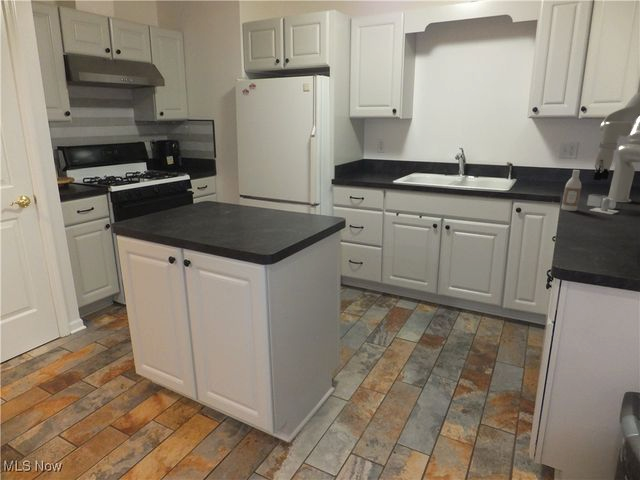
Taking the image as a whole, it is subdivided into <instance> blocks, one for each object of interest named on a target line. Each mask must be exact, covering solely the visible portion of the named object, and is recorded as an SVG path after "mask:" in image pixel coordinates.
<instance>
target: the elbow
mask: <svg viewBox="0 0 640 480" xmlns="http://www.w3.org/2000/svg"><path fill="white" fill-rule="evenodd" d="M606 197H607V195H602V194H597V193H595V194H594V193H592V194H588V198H587V202H586V206H587V207H588V206H590V207H594V208H601V206H602V201H603V198H606ZM617 203H618V202H617V201H613V200H610V202H609V207H608V209H609V210H615V209H616V205H617Z"/></svg>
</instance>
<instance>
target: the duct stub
mask: <svg viewBox="0 0 640 480" xmlns="http://www.w3.org/2000/svg"><path fill="white" fill-rule="evenodd" d="M609 202H610V199H608V198H603V201H602V206H601V207H594V208H591V209H589V212H595V213H601V214H607V215H613V214H616V213H619V212H620V211H619V210H615V209H609V208H608V207H609Z"/></svg>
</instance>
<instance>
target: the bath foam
mask: <svg viewBox="0 0 640 480" xmlns="http://www.w3.org/2000/svg"><path fill="white" fill-rule="evenodd" d="M580 173H581V171H580V170H579V169H573V170H572V174H571V177H570V178H569V179H568V181H567V182H566V184H565V186H564V192H563V199H562V204H561V210H563V211H567V212H568V211H569V212H576V211H577V210H578V206H579V200H580V195H581V190H582V182H581V180H580Z"/></svg>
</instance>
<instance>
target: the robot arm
mask: <svg viewBox="0 0 640 480" xmlns="http://www.w3.org/2000/svg"><path fill="white" fill-rule="evenodd" d="M630 121H633V124H632V123H631V122H630ZM598 132H599V134H600V135H601V138H600V142H599V146H598V147H599V148H598V149H599V150H598V153H597V155H596V159H595V163H594V169H595V170H594V176H593V180H594V181H601V180H608V179H609V175H610V169H611V167H612V163H613V160H614V153H615V165H614V169H613V173H612V174H613V175H612V179H611V183H610V189H609V193H608V196H607V195H606V198H608V199H610V200H613V201H617V202H616V203H632V199H630V198H629V197H630V193H631V188H632V185H633V180H634V176H635V171H636V170H635V166H634V164H633V163H637V164H640V91H639V92H636V93H635V94H634V95H633V96H632V98H631V99H630V100H629V101H628V102H627V104H626V105H625V106H624V107H623V108H620V109H618V110H616V111H613V112H611V113H609V114H608V115H607V116H606V117H605V118H604V120H602V122H601V123H600V125H599V127H598ZM625 137H627V138H626V142H627V143H624V144H621V145H619V146H618V143H619V139H620V138H625Z"/></svg>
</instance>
